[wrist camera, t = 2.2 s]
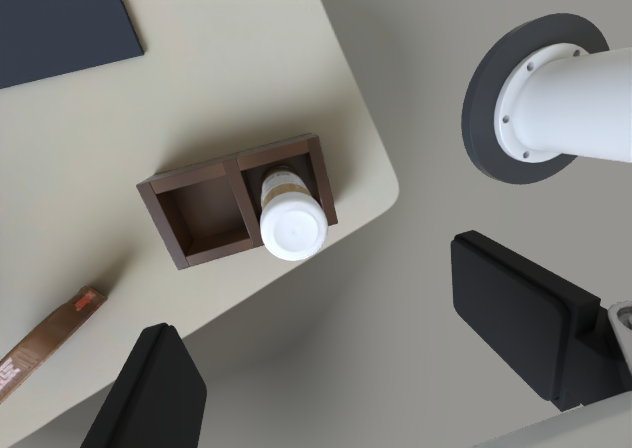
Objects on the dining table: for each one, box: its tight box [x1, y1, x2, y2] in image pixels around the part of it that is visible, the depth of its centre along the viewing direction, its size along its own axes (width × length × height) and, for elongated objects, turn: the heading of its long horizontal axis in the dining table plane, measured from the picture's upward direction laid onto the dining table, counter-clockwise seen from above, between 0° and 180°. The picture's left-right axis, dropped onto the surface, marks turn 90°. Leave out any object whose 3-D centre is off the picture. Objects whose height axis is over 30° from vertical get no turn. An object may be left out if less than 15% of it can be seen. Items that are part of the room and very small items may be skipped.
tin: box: [0, 286, 108, 404], centre depth 29 cm, size 15×3×8 cm, turn 130°
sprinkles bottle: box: [260, 166, 328, 261], centre depth 25 cm, size 5×5×13 cm
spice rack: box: [136, 133, 338, 270], centre depth 30 cm, size 17×9×4 cm, turn 102°
